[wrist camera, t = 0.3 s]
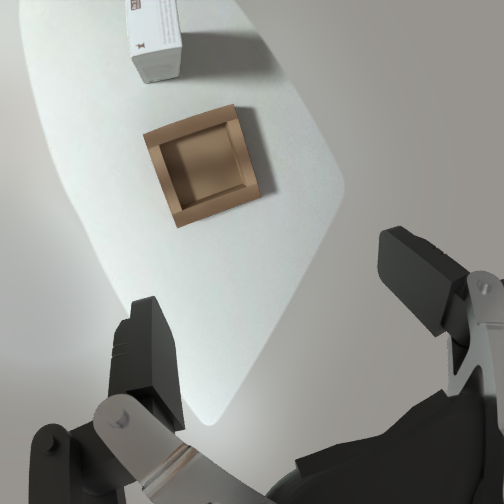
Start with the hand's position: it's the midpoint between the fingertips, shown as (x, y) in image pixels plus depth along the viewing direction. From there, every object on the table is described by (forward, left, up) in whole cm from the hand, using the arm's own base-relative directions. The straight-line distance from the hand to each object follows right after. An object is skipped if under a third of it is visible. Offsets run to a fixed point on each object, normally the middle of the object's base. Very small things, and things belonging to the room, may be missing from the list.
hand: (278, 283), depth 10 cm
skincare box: (-15, 0, -28) cm, 31 cm away
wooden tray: (-1, +1, -27) cm, 27 cm away
